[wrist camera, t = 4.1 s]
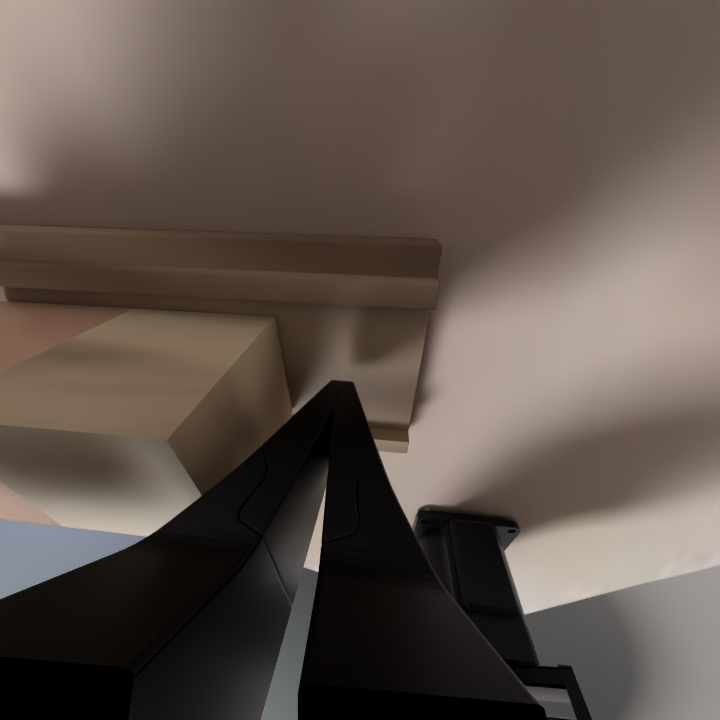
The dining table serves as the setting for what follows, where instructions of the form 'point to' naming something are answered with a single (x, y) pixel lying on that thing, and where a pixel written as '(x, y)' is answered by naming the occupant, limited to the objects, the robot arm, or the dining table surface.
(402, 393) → the channel
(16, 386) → the beige slanted block
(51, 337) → the block
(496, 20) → the dining table surface
